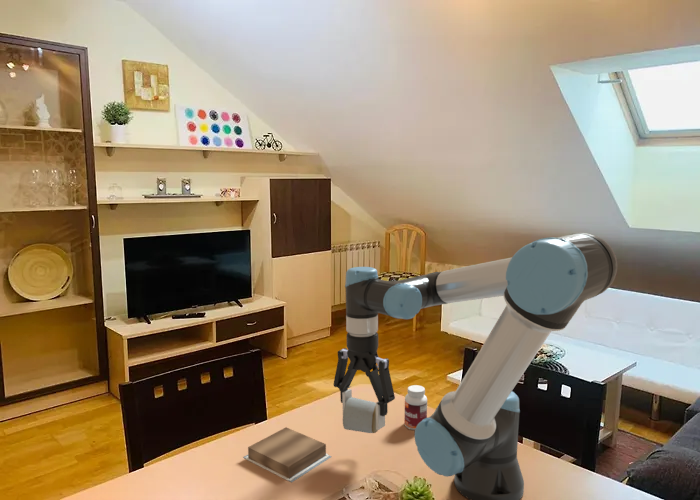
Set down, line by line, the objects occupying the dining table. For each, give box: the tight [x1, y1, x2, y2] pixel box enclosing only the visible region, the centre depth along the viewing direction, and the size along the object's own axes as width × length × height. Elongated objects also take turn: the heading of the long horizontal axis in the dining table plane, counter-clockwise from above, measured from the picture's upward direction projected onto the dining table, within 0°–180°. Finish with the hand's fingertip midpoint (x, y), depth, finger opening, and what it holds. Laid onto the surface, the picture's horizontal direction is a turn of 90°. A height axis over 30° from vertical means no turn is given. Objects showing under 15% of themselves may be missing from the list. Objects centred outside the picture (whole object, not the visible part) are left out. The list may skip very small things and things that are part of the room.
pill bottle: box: [403, 384, 428, 431], centre depth 148 cm, size 6×6×11 cm
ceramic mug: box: [342, 396, 379, 434], centre depth 131 cm, size 11×8×8 cm
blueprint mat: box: [242, 452, 332, 483], centre depth 133 cm, size 17×14×1 cm
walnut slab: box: [247, 426, 327, 478], centre depth 132 cm, size 14×13×3 cm
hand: (363, 421), depth 130 cm, fingers closed on ceramic mug, 9 cm apart
